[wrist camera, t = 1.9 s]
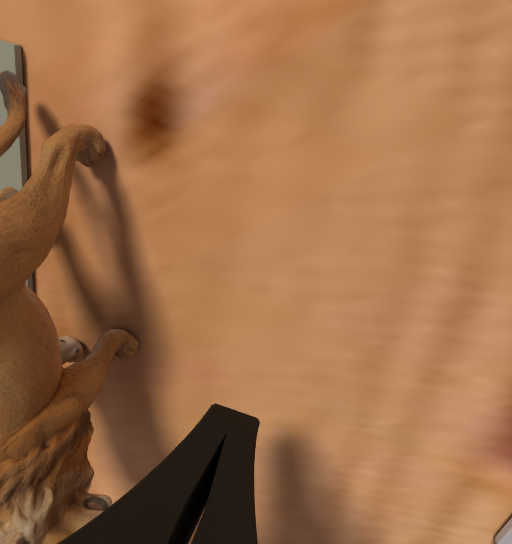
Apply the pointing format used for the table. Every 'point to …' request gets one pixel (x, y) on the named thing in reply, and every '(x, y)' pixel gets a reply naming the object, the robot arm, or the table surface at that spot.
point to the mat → (14, 161)
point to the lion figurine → (44, 349)
